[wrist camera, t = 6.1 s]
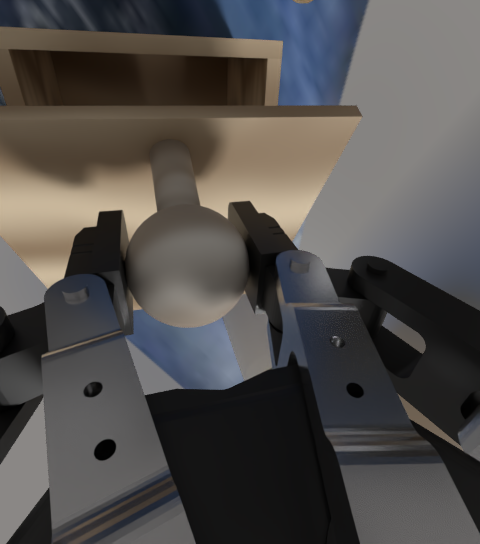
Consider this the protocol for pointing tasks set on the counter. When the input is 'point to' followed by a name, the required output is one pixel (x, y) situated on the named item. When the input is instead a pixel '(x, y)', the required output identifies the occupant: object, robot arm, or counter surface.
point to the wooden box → (136, 69)
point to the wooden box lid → (163, 189)
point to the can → (248, 338)
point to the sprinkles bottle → (302, 1)
